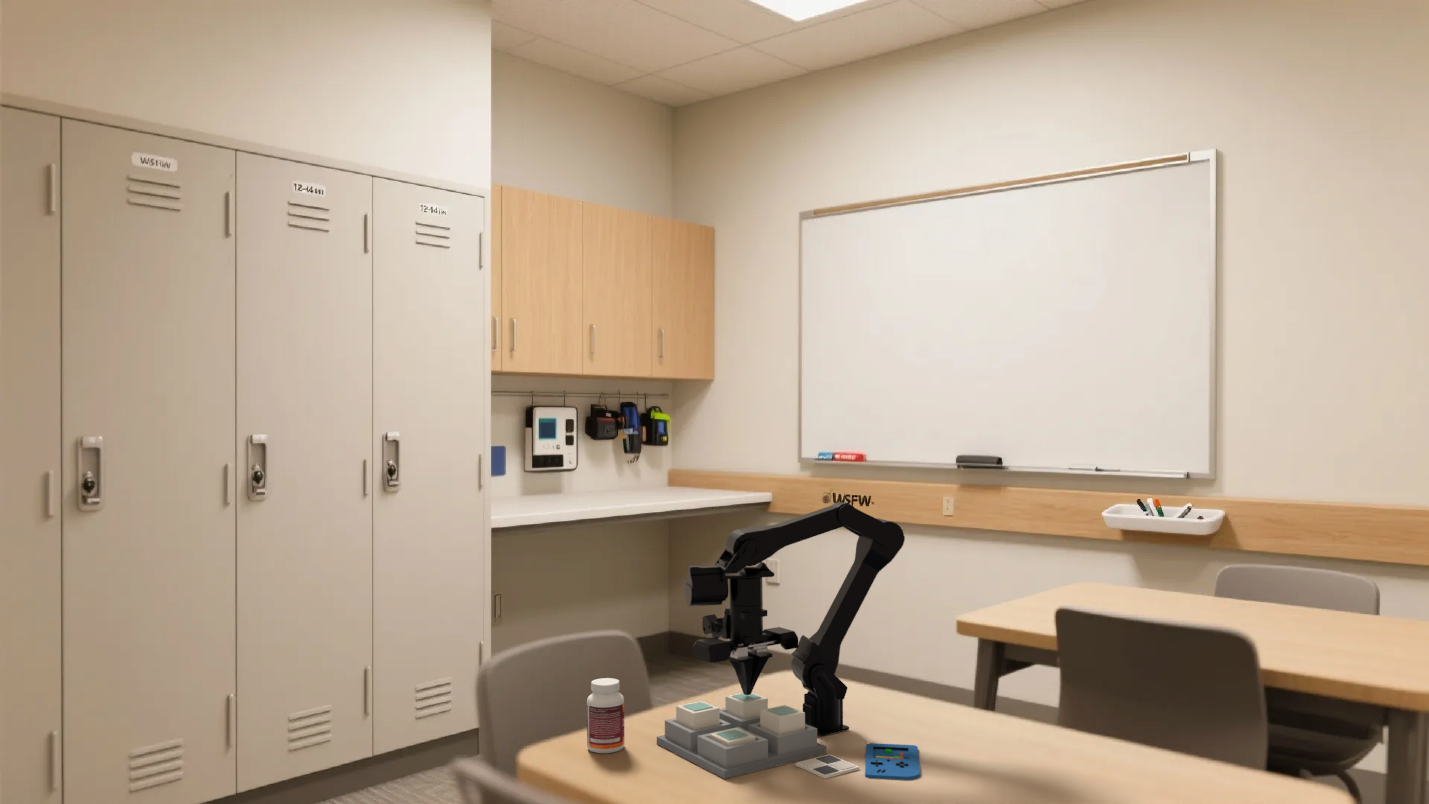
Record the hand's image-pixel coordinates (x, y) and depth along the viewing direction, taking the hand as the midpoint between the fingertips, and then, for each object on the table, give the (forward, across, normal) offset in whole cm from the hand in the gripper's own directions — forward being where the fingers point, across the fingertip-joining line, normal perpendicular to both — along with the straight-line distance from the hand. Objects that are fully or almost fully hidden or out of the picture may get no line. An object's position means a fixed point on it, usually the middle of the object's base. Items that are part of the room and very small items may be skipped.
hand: (747, 694), depth 173 cm
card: (+7, -1, +20) cm, 21 cm away
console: (+7, +5, +5) cm, 10 cm away
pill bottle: (+7, +23, -8) cm, 25 cm away
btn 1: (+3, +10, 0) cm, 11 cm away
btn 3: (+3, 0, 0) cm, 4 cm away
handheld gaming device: (+8, -11, +24) cm, 27 cm away
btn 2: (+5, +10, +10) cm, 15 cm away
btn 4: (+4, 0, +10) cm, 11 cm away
